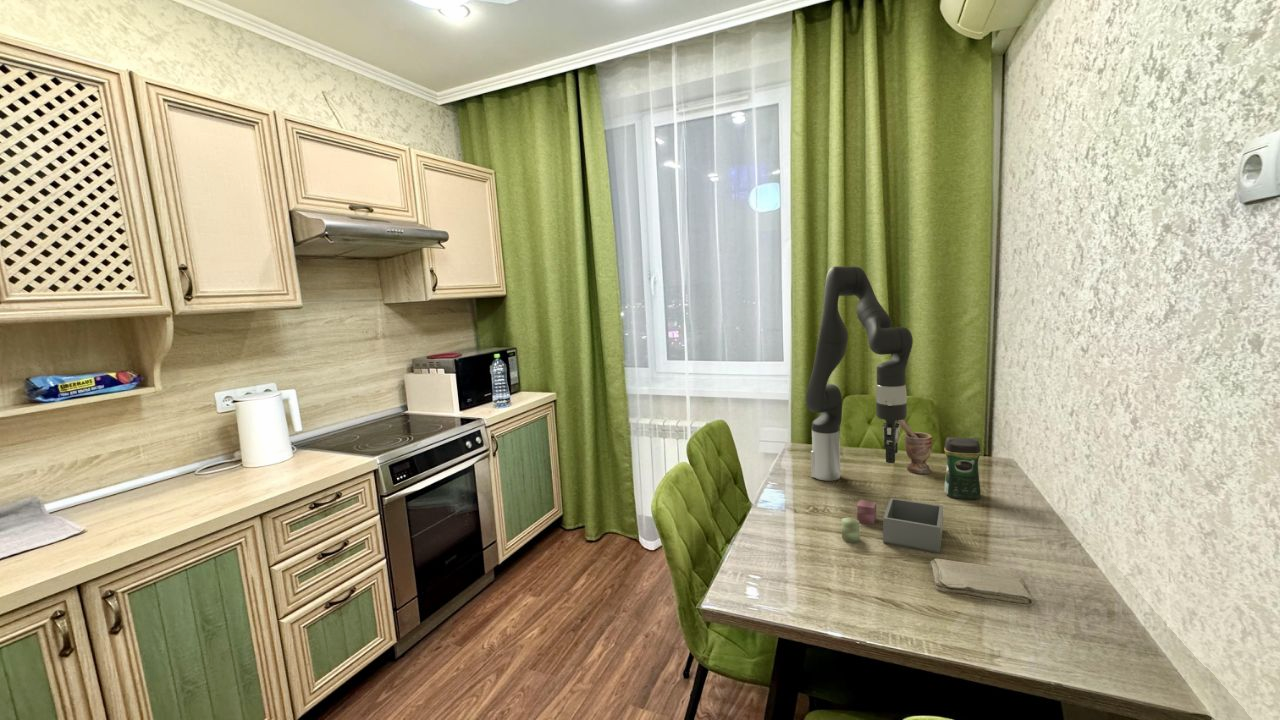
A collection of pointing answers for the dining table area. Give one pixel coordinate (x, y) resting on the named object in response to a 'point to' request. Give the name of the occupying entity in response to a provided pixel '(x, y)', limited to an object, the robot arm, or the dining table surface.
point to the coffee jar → (962, 468)
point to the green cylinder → (850, 530)
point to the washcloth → (980, 582)
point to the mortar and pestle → (917, 449)
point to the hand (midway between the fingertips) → (891, 457)
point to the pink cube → (866, 512)
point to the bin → (913, 525)
